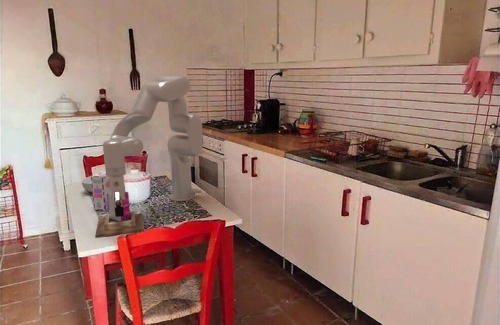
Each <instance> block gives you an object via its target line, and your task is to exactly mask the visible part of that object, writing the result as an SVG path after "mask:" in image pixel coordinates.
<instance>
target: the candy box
mask: <svg viewBox="0 0 500 325" xmlns="http://www.w3.org/2000/svg"><path fill="white" fill-rule="evenodd" d="M90 176H91V182H92V192H91V193H92V200H93V210H94V211H104V212H105V211H106V212H107V210H109V198H108V193H111V187H110V178H109V177H107V176H106V171H105V170H103V171H99V172H98V173H96V174H94V175H90Z"/></svg>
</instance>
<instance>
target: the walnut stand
mask: <svg viewBox="0 0 500 325" xmlns="http://www.w3.org/2000/svg"><path fill="white" fill-rule="evenodd" d="M97 219H98V220H97V224H96V230H95V238H102V237H111V236H118V235H126V234H128V235H129V234H134V233H139V232H138V231H143V230H144V231H145V225H144V214H143V212H139V213H135V211H134V210H133V211H132V210H131V211H130V218H129V219H126V220H124V221H120V222H116V221H112V220H110V213H106V214H105V217H98V218H97ZM144 231H143V232H144Z"/></svg>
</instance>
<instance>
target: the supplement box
mask: <svg viewBox="0 0 500 325" xmlns="http://www.w3.org/2000/svg"><path fill="white" fill-rule="evenodd" d="M125 195H126V199H125V200H124V199H123V200H122V206H123V210H124V216H120V217H116V216H115V201H113V199H112V194H111V193H108V198H109V209H108V210H109V214H110V220H112V221H116V222H120V221H124V220H126V219H129V218H130V212H131V211H130V210H131V209H130V199H129V198H130V196H129V195H130V194H129V191H125ZM115 199H116V198H115ZM119 199H121V198H120V196H119ZM120 203H121V201H120Z"/></svg>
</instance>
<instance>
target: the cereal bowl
mask: <svg viewBox="0 0 500 325" xmlns="http://www.w3.org/2000/svg"><path fill="white" fill-rule="evenodd" d="M91 176H92V175H90V176H87V177H85V178H82V180H81V185H82V188H83V189H84V190H85V191H86V192H90V193H93V192H92V182H91Z"/></svg>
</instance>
